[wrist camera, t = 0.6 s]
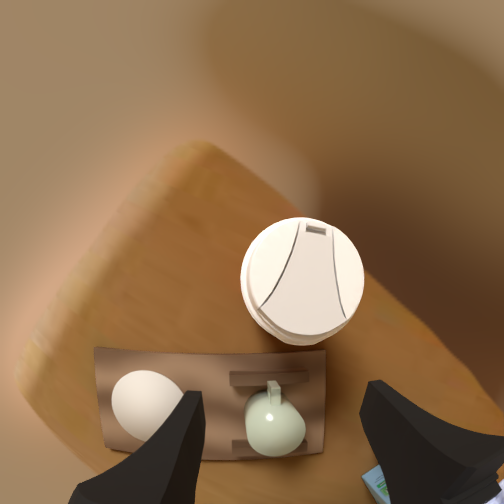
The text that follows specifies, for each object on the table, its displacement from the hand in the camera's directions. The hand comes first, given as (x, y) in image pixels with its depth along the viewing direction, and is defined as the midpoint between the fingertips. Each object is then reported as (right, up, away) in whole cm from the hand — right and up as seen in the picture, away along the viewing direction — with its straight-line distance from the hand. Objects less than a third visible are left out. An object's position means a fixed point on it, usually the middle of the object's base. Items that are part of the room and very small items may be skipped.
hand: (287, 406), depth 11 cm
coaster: (-13, -11, +16) cm, 23 cm away
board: (-6, -11, +18) cm, 22 cm away
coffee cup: (+1, +2, +21) cm, 21 cm away
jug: (0, -11, +17) cm, 20 cm away
